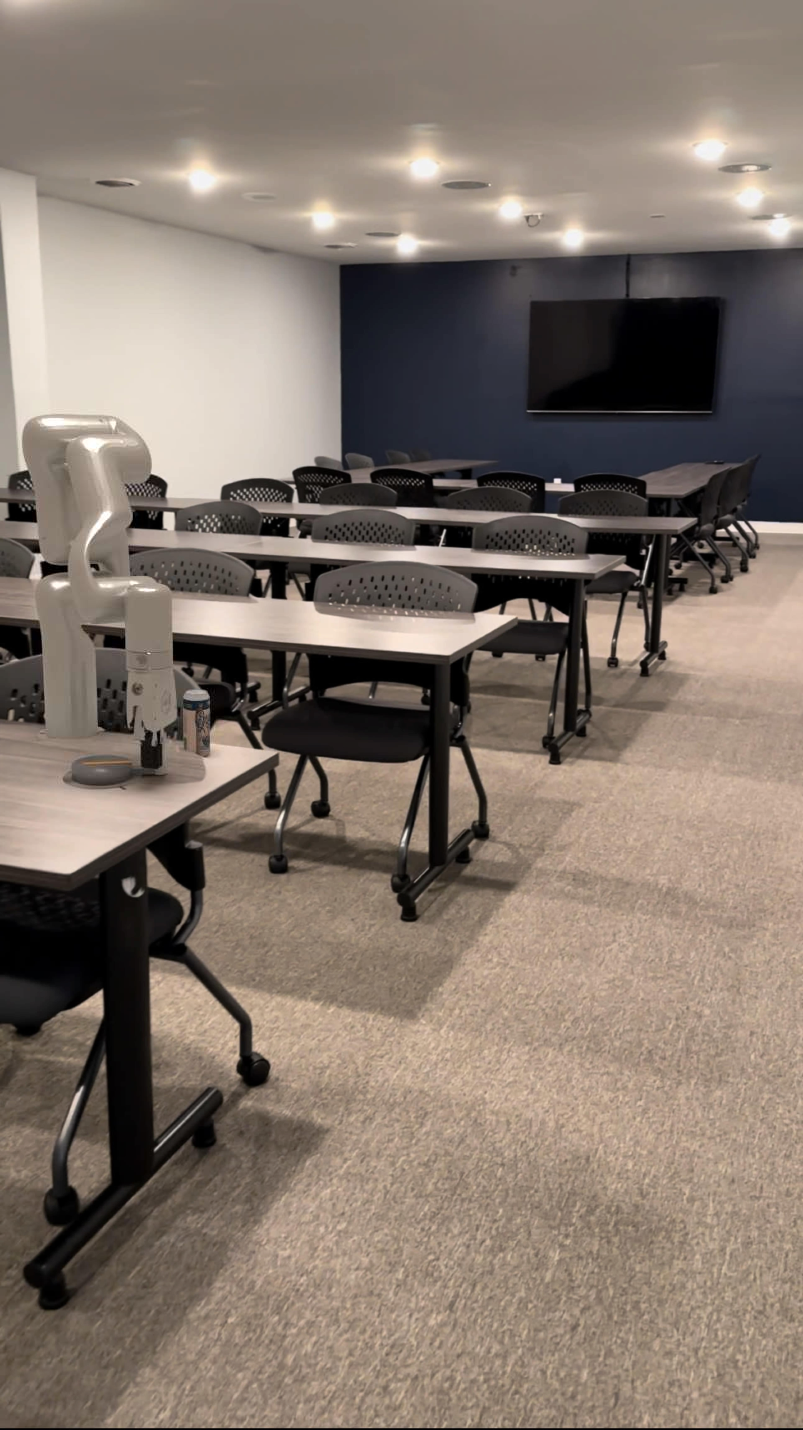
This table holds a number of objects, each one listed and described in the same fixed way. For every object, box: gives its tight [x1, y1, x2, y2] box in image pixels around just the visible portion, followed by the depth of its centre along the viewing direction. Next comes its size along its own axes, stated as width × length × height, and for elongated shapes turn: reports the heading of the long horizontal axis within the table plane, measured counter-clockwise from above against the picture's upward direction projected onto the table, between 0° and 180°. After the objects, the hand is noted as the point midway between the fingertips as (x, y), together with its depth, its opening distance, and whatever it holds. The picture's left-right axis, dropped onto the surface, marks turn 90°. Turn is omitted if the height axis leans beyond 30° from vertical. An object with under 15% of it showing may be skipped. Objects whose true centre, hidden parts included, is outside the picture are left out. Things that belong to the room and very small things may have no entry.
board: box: [62, 770, 143, 791], centre depth 207 cm, size 20×17×1 cm
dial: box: [70, 731, 168, 784], centre depth 205 cm, size 16×10×7 cm, turn 104°
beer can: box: [182, 689, 211, 758], centre depth 223 cm, size 5×5×12 cm
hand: (151, 766), depth 203 cm, fingers closed
